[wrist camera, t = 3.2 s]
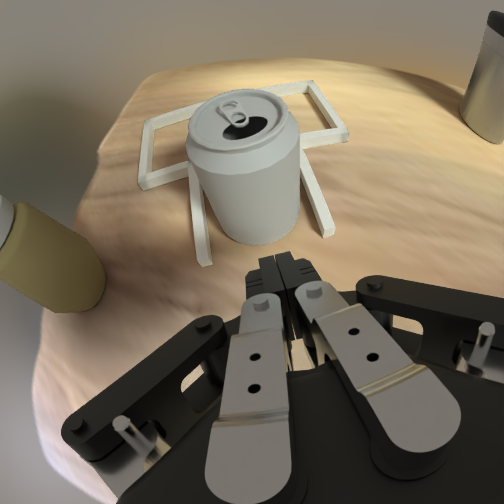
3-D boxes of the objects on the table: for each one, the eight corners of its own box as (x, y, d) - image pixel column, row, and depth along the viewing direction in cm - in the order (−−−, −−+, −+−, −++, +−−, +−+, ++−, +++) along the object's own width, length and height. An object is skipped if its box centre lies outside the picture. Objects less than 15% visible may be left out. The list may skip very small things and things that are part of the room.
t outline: (390, 221, 24) (394, 213, 22) (143, 281, 25) (135, 275, 23) (312, 88, 34) (312, 80, 32) (148, 128, 34) (144, 121, 33)
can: (241, 264, 24) (200, 176, 13) (208, 203, 27) (165, 110, 16) (314, 225, 25) (324, 122, 14) (274, 171, 28) (261, 71, 17)
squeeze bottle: (56, 279, 26) (-59, 202, 10) (101, 237, 28) (-8, 131, 11) (75, 336, 23) (-73, 274, 7) (127, 292, 24) (-24, 186, 8)
